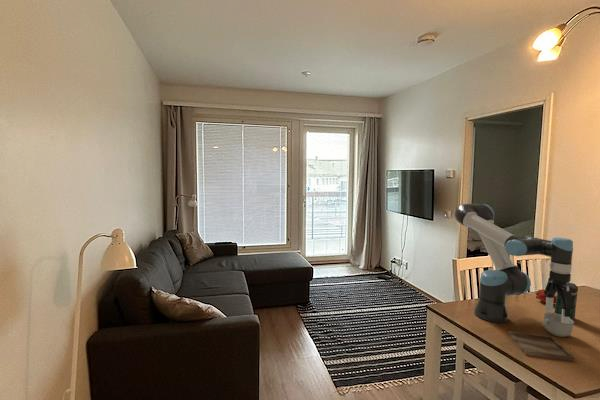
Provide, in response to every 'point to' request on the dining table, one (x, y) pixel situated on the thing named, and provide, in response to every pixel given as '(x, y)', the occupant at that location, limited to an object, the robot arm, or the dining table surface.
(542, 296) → the dragon fruit
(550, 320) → the teacup
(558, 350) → the shallow tray
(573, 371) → the dining table surface
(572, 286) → the coffee jar
